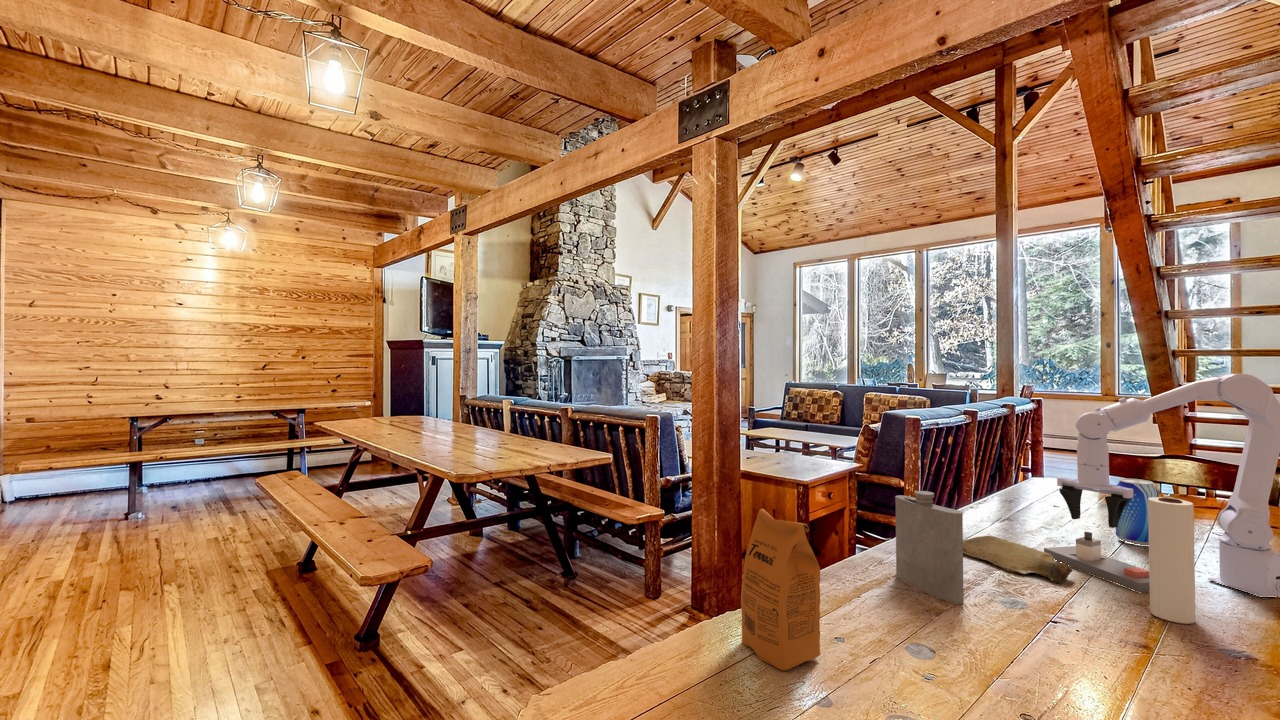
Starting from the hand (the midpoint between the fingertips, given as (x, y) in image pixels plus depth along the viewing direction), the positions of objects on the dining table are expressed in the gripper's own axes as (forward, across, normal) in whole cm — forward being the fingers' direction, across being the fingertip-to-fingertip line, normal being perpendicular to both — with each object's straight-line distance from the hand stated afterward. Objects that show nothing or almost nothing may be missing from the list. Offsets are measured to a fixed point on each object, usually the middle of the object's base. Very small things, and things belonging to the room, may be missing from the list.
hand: (1094, 522), depth 129 cm
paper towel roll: (+10, -22, +18) cm, 30 cm away
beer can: (+10, +4, -27) cm, 29 cm away
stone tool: (+10, +8, +18) cm, 22 cm away
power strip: (+9, -4, +4) cm, 11 cm away
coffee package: (+9, -3, +92) cm, 92 cm away
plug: (+9, 0, +3) cm, 10 cm away
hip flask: (+9, +5, +48) cm, 50 cm away
